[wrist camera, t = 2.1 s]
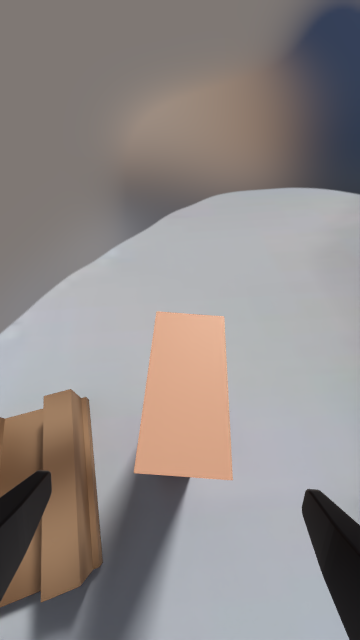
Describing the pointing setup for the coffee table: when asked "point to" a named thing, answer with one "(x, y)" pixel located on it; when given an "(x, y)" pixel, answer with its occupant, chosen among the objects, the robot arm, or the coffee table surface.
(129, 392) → the coffee table surface
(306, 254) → the coffee table surface
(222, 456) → the peach rectangular block
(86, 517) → the rack
